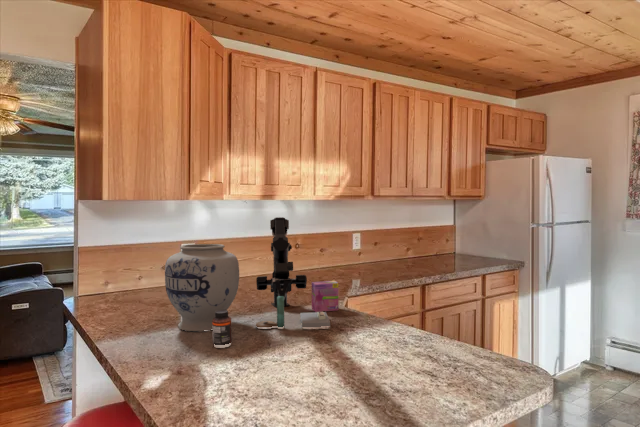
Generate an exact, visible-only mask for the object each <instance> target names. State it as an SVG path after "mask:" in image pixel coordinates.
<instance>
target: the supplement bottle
mask: <svg viewBox="0 0 640 427" xmlns="http://www.w3.org/2000/svg"><path fill="white" fill-rule="evenodd" d="M212 328H213V331H212V345H213V344H215V345H225V344H229V343H231V342H232V343H233V335H232V334H233V333H232V330H233V328H232V318H231V317H230V316H229V310H228V309H227V310H217V311H216V312H215V318H214V319H213V321H212Z"/></svg>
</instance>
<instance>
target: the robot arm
mask: <svg viewBox="0 0 640 427" xmlns="http://www.w3.org/2000/svg"><path fill="white" fill-rule="evenodd" d="M289 222H290V221H289V219H286V217H280V216H278V217H274V218H273V219H270V225H269V226H270V227H269V228H270V230H271V234H272V236H273V238H272V242H271V243H270V252H272V255H273V256H272V257H273V258H272V259H273V271H272V276H271V277H272V278H270V279H268V276H267V275H261V276H260V275H259V276H256V280H255V281H256V282H255V283H256V290H257V291H265V290H267V289H268V286H270V293H273V302H271V305H272V307H273V306H274V307H275V308H277V296H284V307H288V306H291V304H290V303H288V293H290V292H292V285H295V288H296V289H298V290H299V289H306V288H307V283H308V282H307V281H308V280H307V279H308V277H307V275H305V274H296V275H295V278H291V277H290V272H293V271H294V261H289V257H288V256H289V252H291V250H292V248H293V246H292V244H291V242H289V238H288V237H287V235H288V230H290V223H289Z"/></svg>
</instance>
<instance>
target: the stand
mask: <svg viewBox="0 0 640 427" xmlns="http://www.w3.org/2000/svg"><path fill="white" fill-rule="evenodd" d="M299 314H300V315H299V316H300V318H301V320H300V324H301V323H302V325H301V328H302V327H321V326H330V327H331V321H330V318H329V316H328V313H327V311H325V312H314V311H313V312H300V313H299Z"/></svg>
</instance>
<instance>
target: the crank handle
mask: <svg viewBox="0 0 640 427" xmlns="http://www.w3.org/2000/svg"><path fill="white" fill-rule="evenodd" d="M256 326H257V327H272V326H278V327H283V326H284V327H285V306H284V296H277V307H276V322H275V321H272V320H262V321H258V322H256V323H255V327H256Z"/></svg>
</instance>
